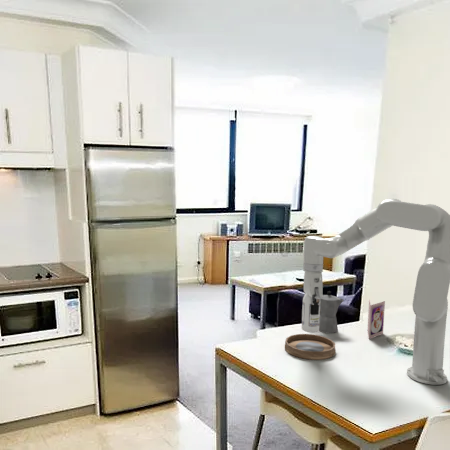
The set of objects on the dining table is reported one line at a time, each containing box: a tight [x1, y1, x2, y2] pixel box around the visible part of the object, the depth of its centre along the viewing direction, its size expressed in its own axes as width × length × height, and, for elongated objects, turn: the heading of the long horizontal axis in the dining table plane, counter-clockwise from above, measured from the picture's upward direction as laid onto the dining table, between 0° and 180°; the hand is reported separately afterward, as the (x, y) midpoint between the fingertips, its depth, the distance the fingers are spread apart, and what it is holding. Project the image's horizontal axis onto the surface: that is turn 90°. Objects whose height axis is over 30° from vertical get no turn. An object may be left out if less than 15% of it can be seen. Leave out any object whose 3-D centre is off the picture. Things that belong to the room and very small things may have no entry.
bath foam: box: [301, 293, 321, 334], centre depth 167 cm, size 7×7×20 cm
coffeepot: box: [318, 290, 345, 334], centre depth 192 cm, size 15×9×18 cm, turn 67°
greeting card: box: [366, 299, 386, 340], centre depth 187 cm, size 11×7×15 cm, turn 129°
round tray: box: [284, 333, 337, 361], centre depth 169 cm, size 20×20×3 cm
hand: (311, 311), depth 167 cm, fingers closed on bath foam, 7 cm apart
